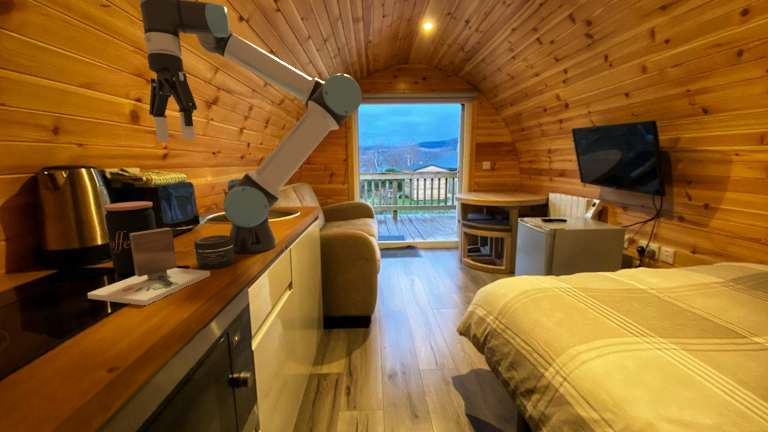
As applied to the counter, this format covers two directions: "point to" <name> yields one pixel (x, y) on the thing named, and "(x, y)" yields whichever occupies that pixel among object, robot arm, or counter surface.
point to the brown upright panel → (153, 253)
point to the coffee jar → (126, 230)
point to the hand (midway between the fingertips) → (175, 141)
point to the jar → (214, 251)
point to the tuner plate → (148, 287)
